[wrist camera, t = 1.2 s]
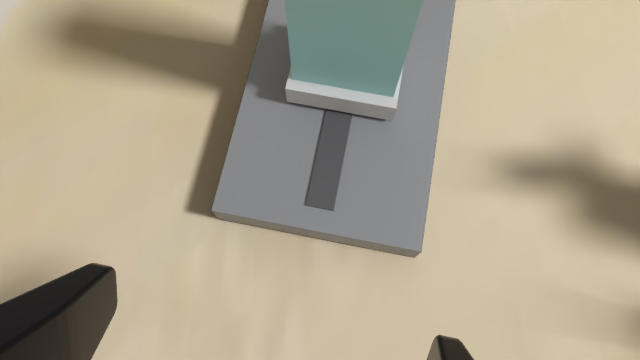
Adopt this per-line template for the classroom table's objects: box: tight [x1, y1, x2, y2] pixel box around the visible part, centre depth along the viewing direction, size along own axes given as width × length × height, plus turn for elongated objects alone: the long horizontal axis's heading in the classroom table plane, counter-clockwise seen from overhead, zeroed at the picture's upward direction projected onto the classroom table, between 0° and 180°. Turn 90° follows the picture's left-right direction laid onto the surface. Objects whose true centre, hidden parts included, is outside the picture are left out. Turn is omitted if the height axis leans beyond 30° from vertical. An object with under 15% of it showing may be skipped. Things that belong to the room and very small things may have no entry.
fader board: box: [211, 0, 456, 257], centre depth 24 cm, size 16×9×2 cm, turn 169°
